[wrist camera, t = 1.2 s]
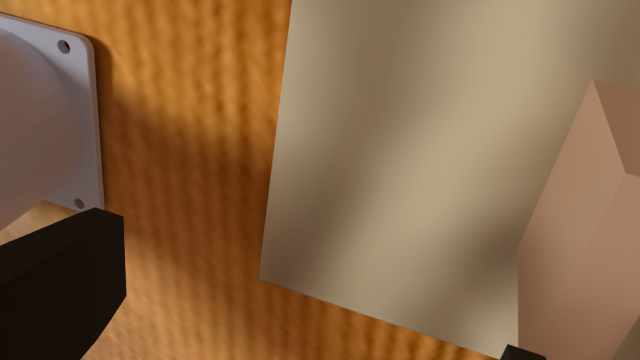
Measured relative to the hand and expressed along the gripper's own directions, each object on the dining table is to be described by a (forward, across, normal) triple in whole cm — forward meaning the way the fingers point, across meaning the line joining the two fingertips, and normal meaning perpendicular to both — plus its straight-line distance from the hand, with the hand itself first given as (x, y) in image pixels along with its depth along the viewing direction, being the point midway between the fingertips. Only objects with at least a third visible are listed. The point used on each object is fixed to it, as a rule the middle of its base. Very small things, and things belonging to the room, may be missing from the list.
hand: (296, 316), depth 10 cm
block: (+9, -6, 0) cm, 11 cm away
